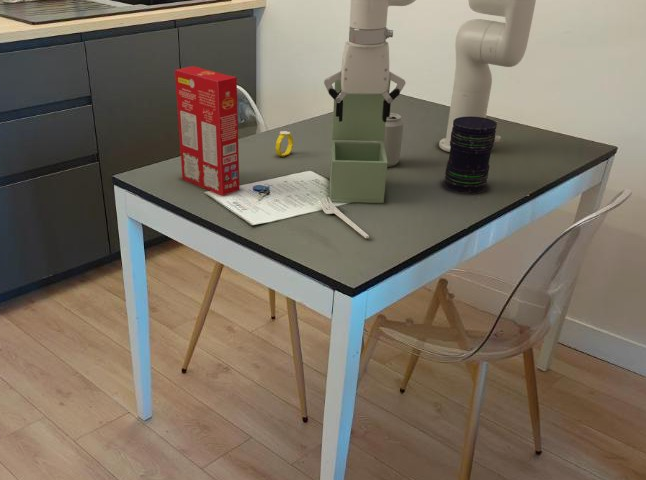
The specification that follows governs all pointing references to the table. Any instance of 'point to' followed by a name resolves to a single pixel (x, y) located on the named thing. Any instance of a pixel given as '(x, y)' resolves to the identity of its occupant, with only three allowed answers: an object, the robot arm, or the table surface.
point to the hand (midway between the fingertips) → (362, 120)
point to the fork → (340, 215)
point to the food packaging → (208, 129)
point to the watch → (279, 140)
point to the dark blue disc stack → (469, 154)
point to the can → (393, 138)
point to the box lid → (359, 117)
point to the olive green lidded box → (358, 172)
